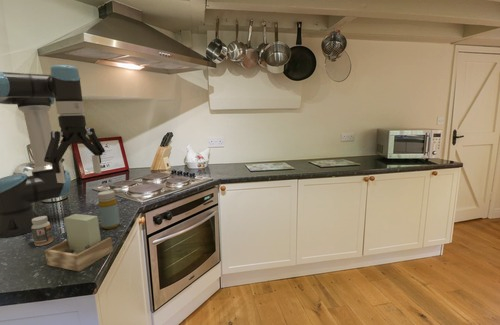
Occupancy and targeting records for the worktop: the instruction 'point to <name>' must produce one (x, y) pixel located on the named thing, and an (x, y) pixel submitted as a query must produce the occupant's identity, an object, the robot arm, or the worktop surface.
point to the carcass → (77, 255)
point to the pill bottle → (41, 231)
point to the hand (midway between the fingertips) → (80, 177)
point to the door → (82, 232)
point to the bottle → (108, 209)
